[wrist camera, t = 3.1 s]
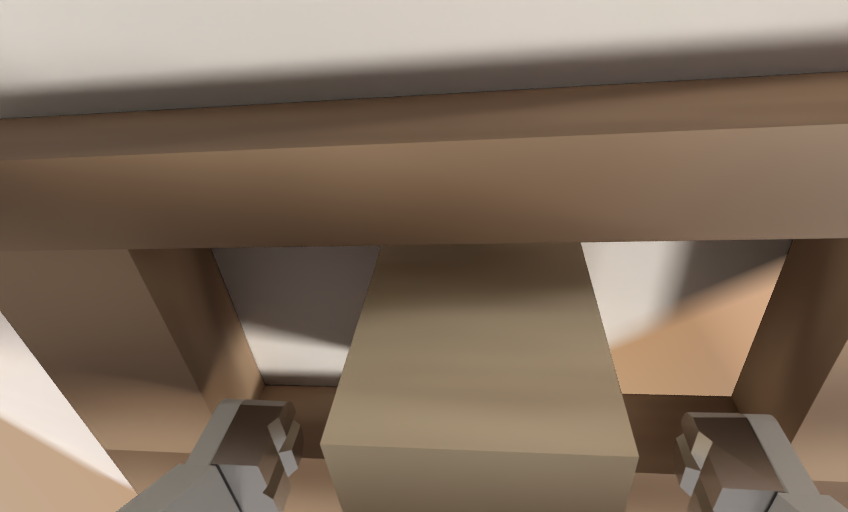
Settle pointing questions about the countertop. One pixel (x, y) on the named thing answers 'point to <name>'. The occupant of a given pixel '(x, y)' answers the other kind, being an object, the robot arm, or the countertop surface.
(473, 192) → the pocket board
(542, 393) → the ash block
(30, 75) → the countertop surface
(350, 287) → the countertop surface
